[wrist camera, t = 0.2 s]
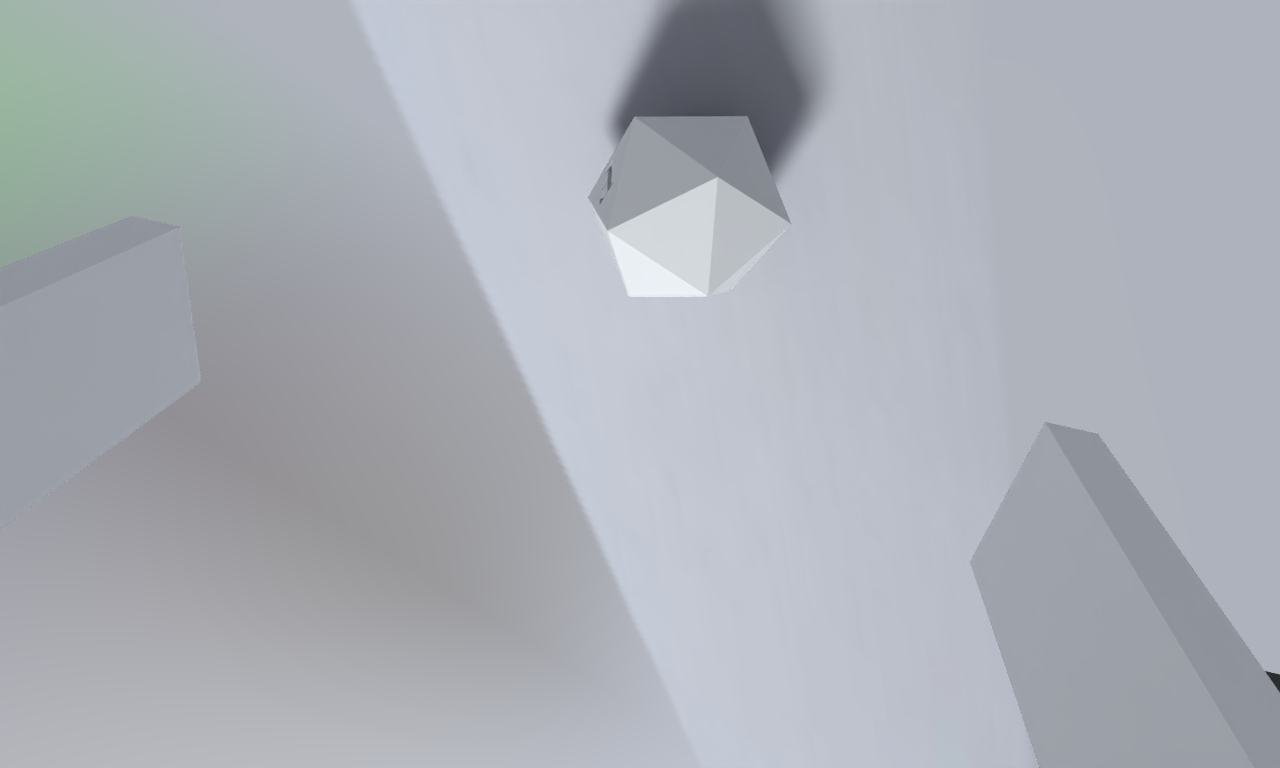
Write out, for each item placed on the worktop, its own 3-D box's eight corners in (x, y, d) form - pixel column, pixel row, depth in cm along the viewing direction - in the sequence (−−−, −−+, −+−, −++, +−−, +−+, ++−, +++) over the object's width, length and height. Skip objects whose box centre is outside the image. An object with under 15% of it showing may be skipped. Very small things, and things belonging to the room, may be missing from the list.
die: (746, 63, 35) (590, 77, 29) (858, 203, 33) (716, 250, 27) (665, 184, 41) (522, 216, 35) (756, 308, 40) (622, 364, 34)
